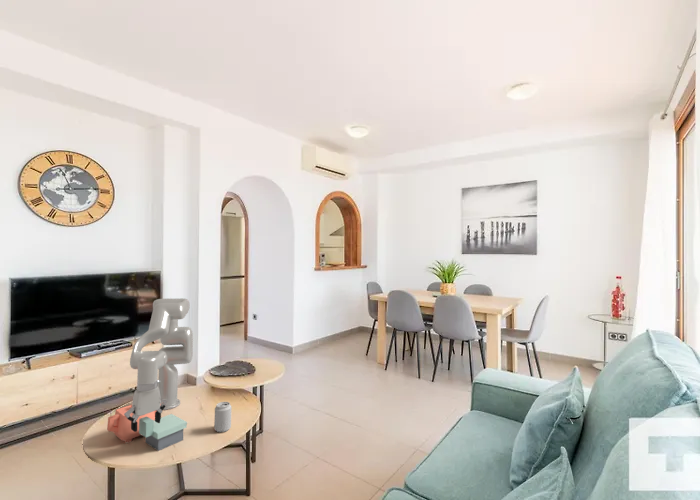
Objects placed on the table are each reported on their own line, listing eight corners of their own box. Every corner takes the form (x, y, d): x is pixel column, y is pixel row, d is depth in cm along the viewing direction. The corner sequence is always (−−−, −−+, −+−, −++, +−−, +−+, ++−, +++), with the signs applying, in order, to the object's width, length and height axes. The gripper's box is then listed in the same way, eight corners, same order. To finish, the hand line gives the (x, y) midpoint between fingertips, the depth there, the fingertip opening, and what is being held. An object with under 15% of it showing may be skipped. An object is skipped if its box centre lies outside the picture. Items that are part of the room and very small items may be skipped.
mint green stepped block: (134, 432, 154) (135, 416, 154) (171, 419, 167) (171, 404, 167) (150, 442, 146) (150, 425, 146) (186, 427, 160) (187, 411, 160)
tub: (145, 442, 156) (145, 426, 157) (170, 432, 166) (170, 417, 166) (158, 450, 150) (158, 434, 150) (183, 440, 159) (183, 424, 159)
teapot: (154, 421, 175) (155, 392, 176) (166, 430, 168) (167, 400, 168) (102, 439, 158) (103, 407, 158) (112, 449, 150) (113, 416, 150)
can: (234, 427, 172) (234, 402, 172) (223, 434, 165) (224, 408, 165) (221, 424, 174) (222, 399, 174) (210, 431, 167) (211, 405, 167)
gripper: (163, 378, 161) (162, 416, 161) (121, 389, 146) (119, 431, 146) (172, 381, 156) (171, 421, 156) (129, 394, 142) (128, 437, 142)
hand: (146, 426), depth 151 cm, fingers open, 9 cm apart
